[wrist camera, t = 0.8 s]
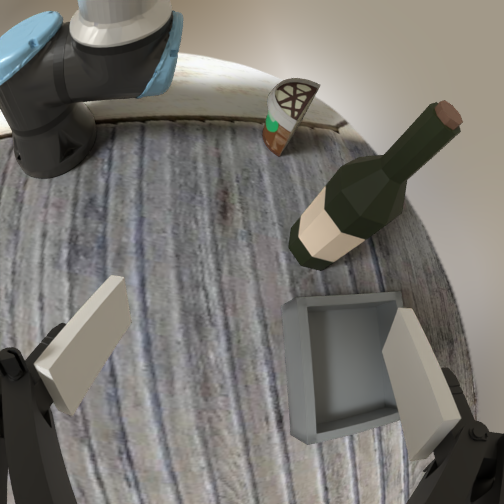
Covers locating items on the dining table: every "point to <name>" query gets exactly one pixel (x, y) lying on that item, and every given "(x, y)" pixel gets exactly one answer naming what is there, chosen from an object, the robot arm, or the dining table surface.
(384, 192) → the wine bottle
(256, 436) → the dining table surface
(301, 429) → the tote
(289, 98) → the food container
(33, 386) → the robot arm
